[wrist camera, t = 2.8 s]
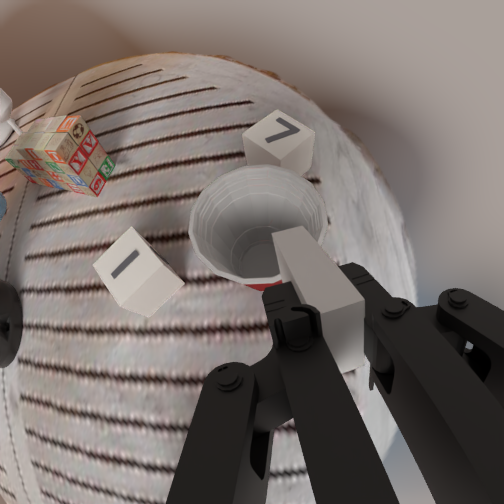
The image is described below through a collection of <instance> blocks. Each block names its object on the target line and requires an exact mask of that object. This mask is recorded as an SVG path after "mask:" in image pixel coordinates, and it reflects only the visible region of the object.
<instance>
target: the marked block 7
mask: <svg viewBox="0 0 504 504" xmlns="http://www.w3.org/2000/svg"><path fill="white" fill-rule="evenodd" d="M242 139H243V145H244V150H245V156H246V162H247V166H251V165H266V164H269V165H273V166H277V167H281V168H285V169H289V170H292V171H294V172H296V173H297V174H299V175H300V176H302V175H303V174H304V173H305V172H307V171H308V170H309V169H310V168H311V163H312V155H313V147H314V139H315V132H314V131H313V130H311V129H310V128H308V127H306V126H305V125H303V124H302V123H300V122H298V121H297V120H295V119H293V118H291V117H290V116H288V115H286V114H285V113H283V112H281V111H279V110H278V109H276V110H275V111H274V112H272V113H271V114H269V115H268V116H266V117H265V118H263V119H262V120H260V121H259V122H258V123H256V124H255V125H253V126H252V127H251V128H249V129H248V130H246V131H245V132H244V133H242Z"/></svg>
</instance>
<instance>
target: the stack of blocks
mask: <svg viewBox="0 0 504 504" xmlns="http://www.w3.org/2000/svg"><path fill="white" fill-rule="evenodd" d="M5 159H6V160H7V161H8V162H9V163H10V164H11V165H12V166H13V167H15V168H16V169H17V170H18V171H19V172H20V173H21V174H22V175H24V176H25V177H26V178H27V179H28V180H29V181H31V182H32V183H37V184H40V185H44V186H49V187H53V188H55V187H56V188H60V189H65V190H70V191H74V192H77V193H82V194H86V195H90V196H94V197H98V196H99V194H100V192H101V190H102V188H103V186H104V185H105V183H106V181H107V179H108V177H109V175H110V174H111V172H112V170H113V169H114V167H115V164H114V163H113V161H112V160H111V158H110V157H109V155H107V154H106V152H105V151H104V149H103V148H102V146H101V145H100V144H99V141H98V140H97V138H96V137H95V135H94V134H93V133H92V131H91V130H90V129H89V127H88V126H87V124H86V123H85V121H84V120H83V118H82V116H81V115H77V116H57V117H50V118H46V119H45V118H44V119H38V120H35V122H34V123H33V124H32V126H31V127H30V129H29V130H28V131H27V132H22V133H21V135H20V136H19V138H18V139H17V141H16V142H15V143H14V145H13V147H12V148H11V150H10V151H9V153H8V155H7V156H6V158H5Z"/></svg>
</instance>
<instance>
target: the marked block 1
mask: <svg viewBox="0 0 504 504" xmlns="http://www.w3.org/2000/svg"><path fill="white" fill-rule="evenodd" d="M168 264H169V263H168V262H167V261H166V260H165V259H164V258H163V257H162V256H161V255H160V254H159V253H158V252H157V250H156V249H155V248H153V247H152V246H151V245H150V244H149V243H148V242H147V241H146V240H145V239H144V238H143V237H142V236H141V235H140V234H139V233H138V232H137V231H136V230H135V229H134V228H133V227H132V226H131V227H130V228H129V229H128V230H127V231H126V232H125V233H124V234H123V235H122V236H121V237H120V238H119V239H118V240H117V241H116V242H115V243H114V244H113V245H112V246H111V247H110V248H109V249H108V250H107V251H106V252H105V253H104V254H103V255H102V256H101V257H100V258H99V259H98V260H97V261H96V262H95V263H94V264H93V266H94V268H95V269H96V271H97V273H98V274H99V276H100V277H101V279H102V281H103V282H104V284H105V285H106V287H107V288H108V290H109V291H110V293H111V294H112V296H113V297H114V299H115V300H116V302H117V303H118V305H119V306H120V307H122V308H125V309H127V310H130V311H132V312H135V313H138V314H140V315H143V316H146V317H148V318H150V317H151V316H152V315H153V314H154V313H155V312H156V311H157V310H158V309H159V308H160V307H161V306H162V305H163V304H164V303H165V302H166V301H167V300H168V299H169V298H170V297H171V296H172V295H173V294H174V293H175V292H177V291H178V290H179V289H180V288H181V287H182V286H183V285H184V284H185V283H184V282H183V280H182V279H181V278H180V277H179V276H178V275H177V274H176V273H175V271H174V270H173V269H172V268H171V267H170V266H169V265H168Z"/></svg>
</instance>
